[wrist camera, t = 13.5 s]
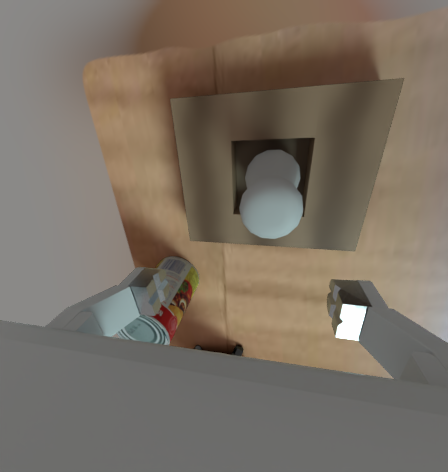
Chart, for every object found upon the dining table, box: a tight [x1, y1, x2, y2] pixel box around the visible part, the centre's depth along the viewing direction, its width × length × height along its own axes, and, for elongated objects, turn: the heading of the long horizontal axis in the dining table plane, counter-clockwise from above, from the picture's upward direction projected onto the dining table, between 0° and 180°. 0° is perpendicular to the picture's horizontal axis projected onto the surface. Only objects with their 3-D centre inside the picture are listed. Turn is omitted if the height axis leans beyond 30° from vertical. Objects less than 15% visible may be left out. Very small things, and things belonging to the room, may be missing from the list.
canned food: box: [117, 256, 199, 345], centre depth 32 cm, size 8×8×12 cm
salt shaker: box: [239, 150, 303, 239], centre depth 19 cm, size 6×6×13 cm
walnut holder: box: [170, 78, 404, 251], centre depth 24 cm, size 20×16×4 cm
